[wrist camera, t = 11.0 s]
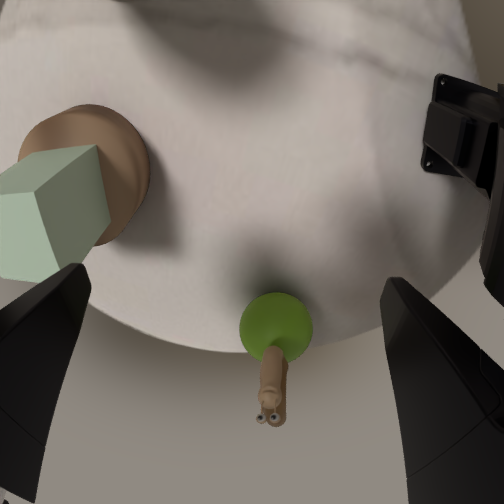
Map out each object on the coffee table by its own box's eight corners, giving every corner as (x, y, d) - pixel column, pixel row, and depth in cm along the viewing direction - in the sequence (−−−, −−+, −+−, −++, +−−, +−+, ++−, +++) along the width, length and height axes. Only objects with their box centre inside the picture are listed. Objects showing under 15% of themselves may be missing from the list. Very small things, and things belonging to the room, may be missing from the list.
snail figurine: (307, 263, 23) (324, 416, 14) (310, 322, 27) (321, 455, 17) (233, 270, 24) (212, 421, 14) (248, 327, 28) (237, 458, 18)
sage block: (96, 144, 16) (33, 192, 11) (111, 221, 19) (66, 285, 14) (32, 152, 16) (-31, 198, 11) (50, 221, 19) (1, 277, 14)
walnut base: (143, 96, 17) (123, 105, 14) (158, 224, 22) (144, 249, 20) (31, 115, 17) (5, 127, 15) (56, 223, 22) (37, 244, 20)
